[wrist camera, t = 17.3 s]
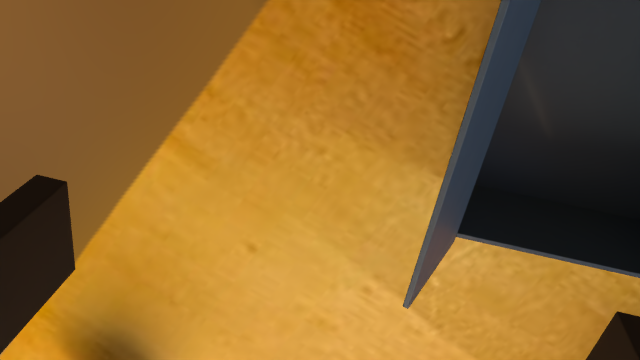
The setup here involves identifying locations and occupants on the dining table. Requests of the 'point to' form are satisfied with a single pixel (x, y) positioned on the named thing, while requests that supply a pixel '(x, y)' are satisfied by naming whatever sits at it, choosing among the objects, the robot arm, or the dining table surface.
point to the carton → (568, 142)
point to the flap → (474, 134)
